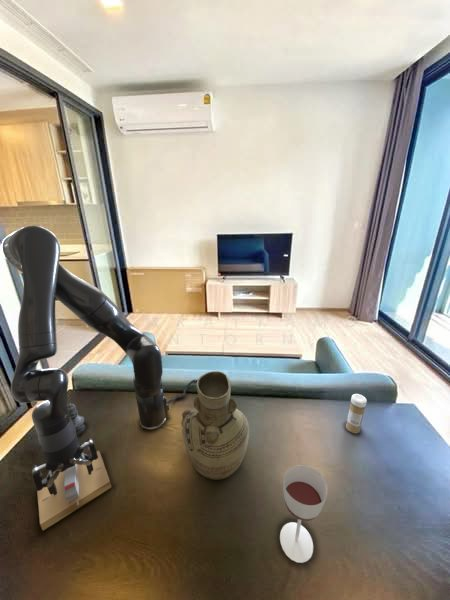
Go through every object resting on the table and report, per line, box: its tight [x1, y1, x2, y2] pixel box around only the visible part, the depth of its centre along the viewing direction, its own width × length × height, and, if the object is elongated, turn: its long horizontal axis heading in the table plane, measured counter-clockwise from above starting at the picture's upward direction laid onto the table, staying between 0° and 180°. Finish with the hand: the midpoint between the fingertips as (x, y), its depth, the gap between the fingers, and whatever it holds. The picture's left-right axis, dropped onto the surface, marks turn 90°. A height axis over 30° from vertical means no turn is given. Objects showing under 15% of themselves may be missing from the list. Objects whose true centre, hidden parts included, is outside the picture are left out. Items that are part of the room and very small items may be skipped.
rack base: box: [36, 450, 112, 531], centre depth 69 cm, size 16×14×3 cm
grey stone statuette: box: [67, 402, 86, 436], centre depth 86 cm, size 6×6×12 cm
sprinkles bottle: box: [345, 393, 368, 434], centre depth 85 cm, size 5×5×13 cm
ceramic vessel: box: [181, 370, 250, 481], centre depth 73 cm, size 19×21×30 cm
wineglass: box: [279, 464, 328, 564], centre depth 55 cm, size 8×9×20 cm
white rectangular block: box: [64, 464, 79, 502], centre depth 68 cm, size 10×2×4 cm, turn 30°
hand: (72, 481), depth 69 cm, fingers open, 8 cm apart
